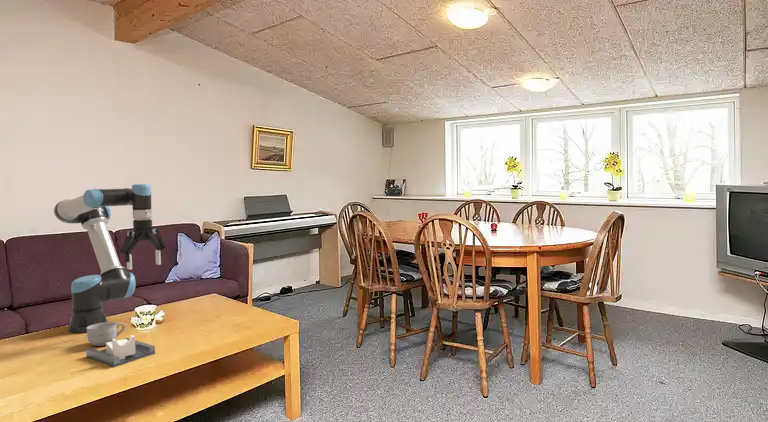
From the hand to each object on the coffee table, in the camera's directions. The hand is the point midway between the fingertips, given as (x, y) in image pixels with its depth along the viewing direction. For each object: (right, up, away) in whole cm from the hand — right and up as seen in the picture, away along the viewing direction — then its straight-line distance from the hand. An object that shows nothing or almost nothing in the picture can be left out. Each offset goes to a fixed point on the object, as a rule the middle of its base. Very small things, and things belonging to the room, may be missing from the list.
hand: (144, 266), depth 219 cm
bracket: (+6, -30, -31) cm, 43 cm away
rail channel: (+5, -31, -29) cm, 43 cm away
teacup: (-8, -30, -15) cm, 35 cm away
